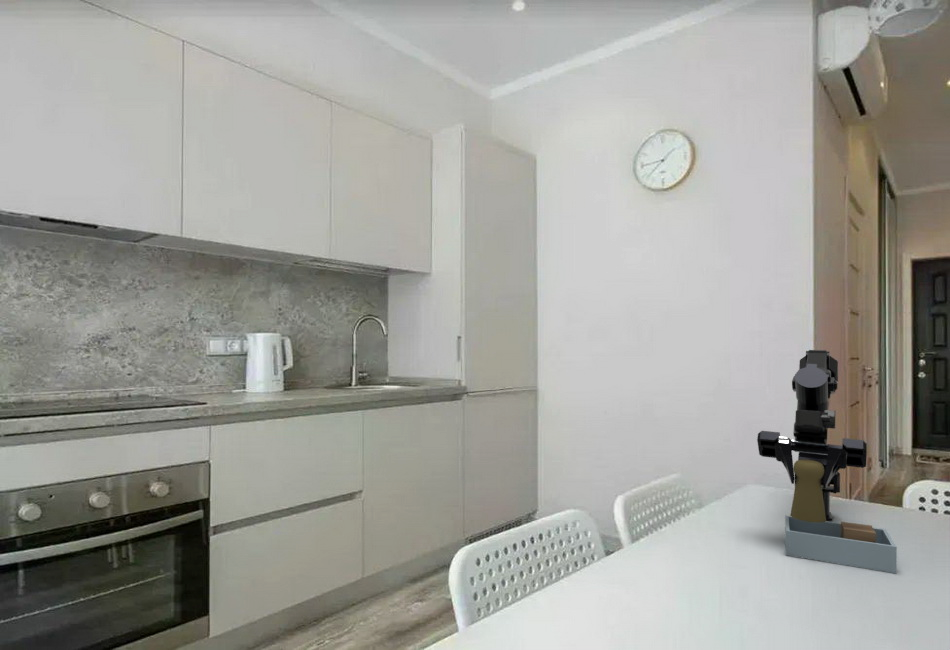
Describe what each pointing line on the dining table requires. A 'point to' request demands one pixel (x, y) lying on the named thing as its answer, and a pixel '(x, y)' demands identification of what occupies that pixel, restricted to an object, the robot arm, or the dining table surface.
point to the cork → (808, 492)
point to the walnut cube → (858, 532)
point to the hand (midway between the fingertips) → (808, 484)
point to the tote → (838, 545)
